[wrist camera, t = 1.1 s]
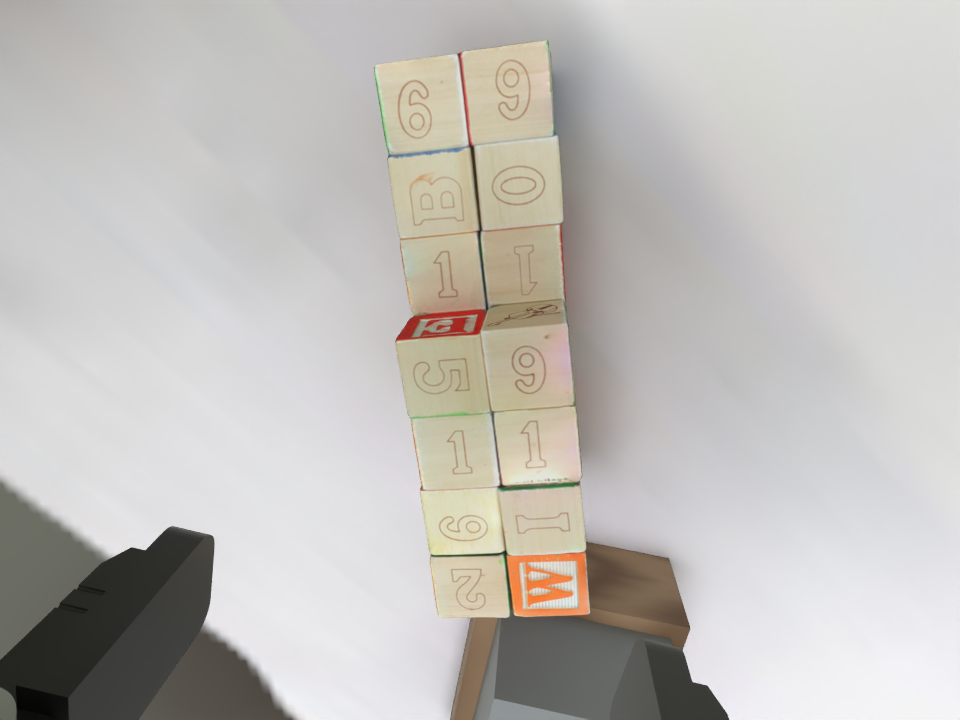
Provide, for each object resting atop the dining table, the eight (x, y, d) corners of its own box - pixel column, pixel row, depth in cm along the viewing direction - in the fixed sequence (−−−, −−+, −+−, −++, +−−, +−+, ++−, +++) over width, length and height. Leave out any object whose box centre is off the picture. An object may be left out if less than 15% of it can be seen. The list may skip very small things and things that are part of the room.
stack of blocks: (421, 84, 30) (345, 45, 18) (551, 68, 29) (557, 17, 17) (469, 472, 37) (435, 624, 25) (575, 468, 36) (591, 622, 24)
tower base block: (667, 555, 37) (690, 628, 32) (605, 741, 43) (615, 832, 37) (490, 519, 38) (482, 585, 32) (451, 709, 43) (438, 794, 38)
